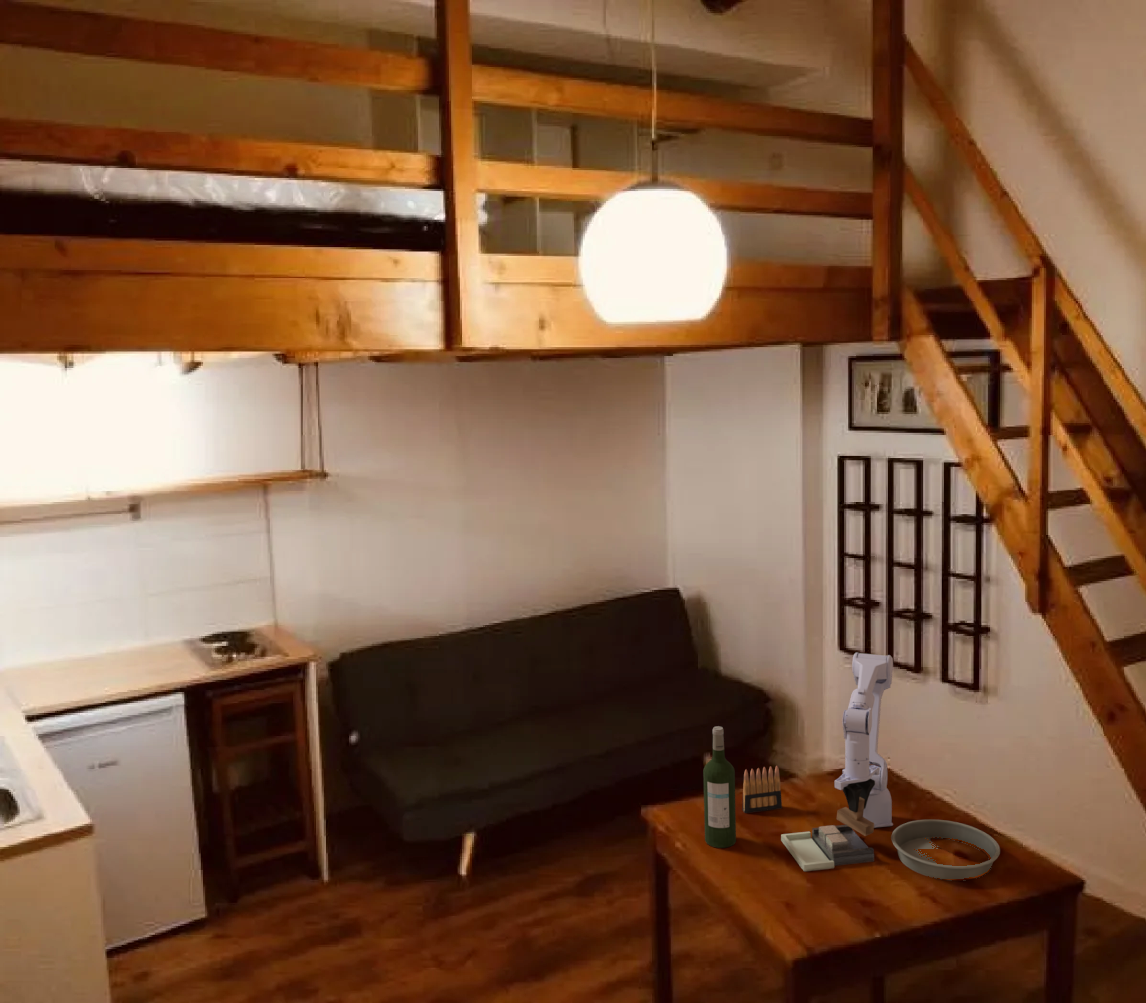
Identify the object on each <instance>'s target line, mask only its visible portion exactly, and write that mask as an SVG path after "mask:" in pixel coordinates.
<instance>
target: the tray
mask: <svg viewBox="0 0 1146 1003" xmlns="http://www.w3.org/2000/svg"><path fill="white" fill-rule="evenodd" d="M780 841H781V842H782V844H783V845H784V846H785V847H786V849H787V851H788V852H789V853H790V854H791V855H792V857H793V858H794V860H795V862H796V863H797V864H798V865H799V867H800V868H801V869H802V870H803V872H811V871H821V870H829V869H835V866H834V861H833V860H830V861H829V859H828V858H827V857H826V856H825V854H824V853H823V852H822V851H821V849H820V848H819V847H818V846H817V844H816V843H815V842H814V841H813V839H812V832H810V831H802V832H801V831H800V832H792V833H783V834H780Z"/></svg>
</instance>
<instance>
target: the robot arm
mask: <svg viewBox="0 0 1146 1003" xmlns="http://www.w3.org/2000/svg"><path fill="white" fill-rule="evenodd" d="M851 667H852V668H851V670H852V674H853V680H854V682H855V685H856V686H857V688H855V689H853V690H852V692H851V695H850V699H849V701H848V707H847V709H844V710H843V713H842V721H841V722H842V731H843V739H844V744H845V745H844V746H845V747H844V748H845V749H844V750H845V751H844V753H845V754H844V757H845V758H844V761H845V762H844V763H845V764H844V766H845V767H844V768H843V769H842V774H841V775H840V776H839V777H838V778H836V779H835V780H834V788H835V789H837V790H840V791H842V793H843V794H844V796H845V799H846V802H847V806H848V809H849V810H851V811H853V812H858V807H859V797H861V798H863V799H865V802H864V811H863V817H864V818H866V819H867V820H869V821H871V822H873V823H874V829H875V828H885V827H892V826H894V823H893V822H892V820H893V819H892V816H893V815H892V811H893V809H892V808H893V806H892V805H893V804H892V802H893V800H892V796H891V792H890V791H889V789H888V788H887V785H888V763H887V760H886V759H885V758H884V757H883V756H882V755H881V754H880V753H879V752H878V744H879V735H880V734H879V733H880V722H881V721H880V720H881V710H882V709H881V706H882V698H883V695H884V691H885V690H888V689H890V688H891V685H892V683H893V670H894V658H893V657H892V656H891V655H890V654H888V655H884V654H875V653H874V654H873V653H872V654H871V653H862V652H861V653H860V652H855V653H854V654H853V656H852V664H851Z"/></svg>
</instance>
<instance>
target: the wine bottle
mask: <svg viewBox="0 0 1146 1003" xmlns="http://www.w3.org/2000/svg"><path fill="white" fill-rule="evenodd" d="M724 734H725V733H724V728H723V726H719V725H718V726H714V727H713V728H712V757H711V759H710V760H709V761H707V763H706V764H705V765H704V767H703V773H702V774H703V775H702V776H703V805H704V806H703V809H704V810H703V811H704V814H703V816H704V841H705V843H706V844H707V845H708V846H710V847H713V848H718V849H725V848H729V847H732V846H735V844H736V842H737V829H736V828H737V823H736V822H737V820H736V819H737V818H736V776H735V775H736V773H735V772H736V771H735V768H734V766H733V765H732V764H731V762H730V761H728V759H726V755H725V742H724V741H725V739H724V738H725V737H724Z"/></svg>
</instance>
